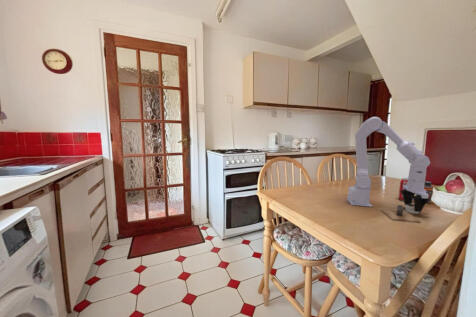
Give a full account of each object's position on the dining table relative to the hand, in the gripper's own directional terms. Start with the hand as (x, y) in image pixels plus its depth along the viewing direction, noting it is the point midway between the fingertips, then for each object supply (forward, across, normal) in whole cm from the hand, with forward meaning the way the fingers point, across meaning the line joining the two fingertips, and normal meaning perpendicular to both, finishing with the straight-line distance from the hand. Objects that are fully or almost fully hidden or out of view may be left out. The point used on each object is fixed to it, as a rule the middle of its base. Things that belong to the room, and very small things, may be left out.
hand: (412, 208), depth 90 cm
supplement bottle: (+2, +17, -14) cm, 22 cm away
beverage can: (+2, +17, -6) cm, 18 cm away
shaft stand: (+2, -8, +9) cm, 12 cm away
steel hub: (+2, 0, 0) cm, 2 cm away
